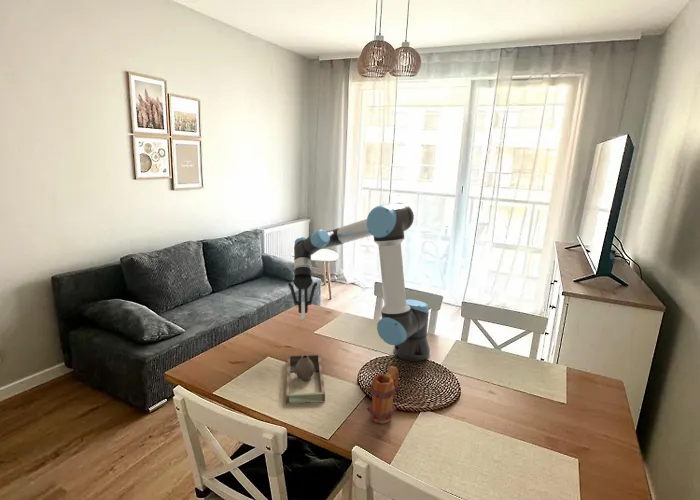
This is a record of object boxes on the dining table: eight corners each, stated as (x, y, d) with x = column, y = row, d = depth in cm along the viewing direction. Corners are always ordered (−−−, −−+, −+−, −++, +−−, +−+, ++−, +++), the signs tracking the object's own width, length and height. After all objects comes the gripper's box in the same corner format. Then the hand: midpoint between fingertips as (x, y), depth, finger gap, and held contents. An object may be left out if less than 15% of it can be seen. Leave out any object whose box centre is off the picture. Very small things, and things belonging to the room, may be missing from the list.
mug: (385, 431, 121) (388, 387, 117) (362, 421, 125) (364, 378, 122) (405, 407, 133) (408, 366, 130) (384, 399, 137) (386, 359, 134)
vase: (310, 384, 145) (311, 362, 143) (292, 381, 146) (292, 360, 144) (316, 374, 151) (316, 353, 149) (299, 372, 153) (298, 351, 151)
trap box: (287, 362, 160) (287, 355, 159) (320, 360, 162) (320, 353, 161) (286, 403, 133) (286, 395, 132) (325, 401, 135) (325, 393, 134)
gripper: (316, 273, 181) (318, 322, 168) (288, 273, 179) (287, 323, 167) (317, 265, 174) (319, 316, 162) (287, 265, 172) (287, 316, 160)
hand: (303, 319), depth 164 cm, fingers closed
